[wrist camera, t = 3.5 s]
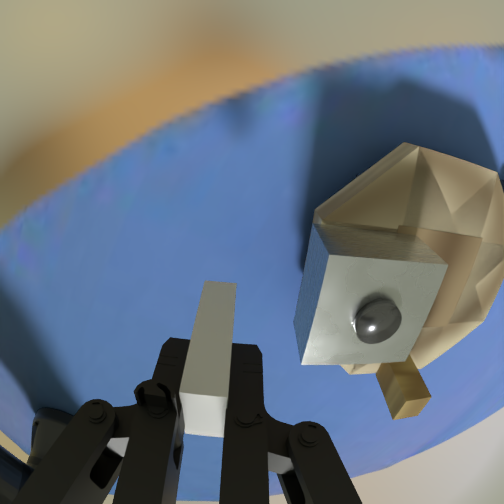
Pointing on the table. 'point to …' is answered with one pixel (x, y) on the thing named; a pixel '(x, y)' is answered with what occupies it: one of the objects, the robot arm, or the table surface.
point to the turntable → (439, 240)
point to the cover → (364, 295)
